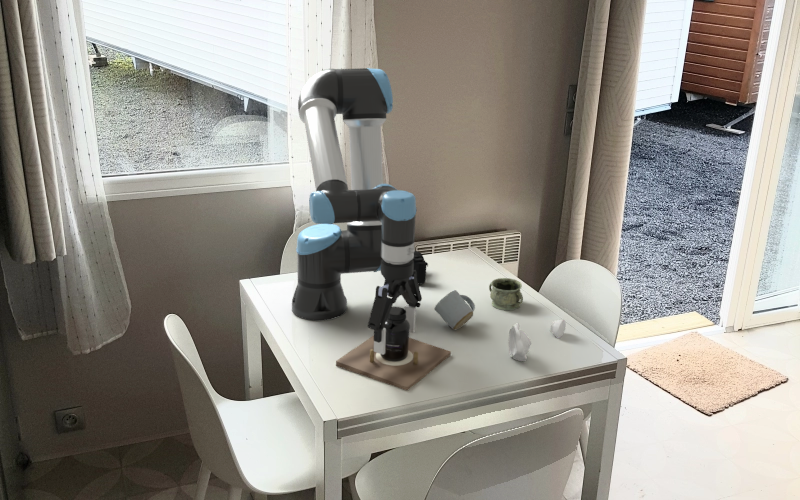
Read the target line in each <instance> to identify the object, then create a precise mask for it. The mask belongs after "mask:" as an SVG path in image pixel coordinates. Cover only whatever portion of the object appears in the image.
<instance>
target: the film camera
mask: <svg viewBox="0 0 800 500" xmlns="http://www.w3.org/2000/svg"><path fill="white" fill-rule="evenodd" d="M413 260H414V266H413V270H416V273H417V282H418V285H423V284H424V283H425V282H426V278H427V267H429V263H428V262H427V261H426V260H425V258H424V256H423V254H422V253H421V252H420V251H419V250H415V251H414V257H413Z"/></svg>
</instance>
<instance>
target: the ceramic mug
mask: <svg viewBox="0 0 800 500" xmlns="http://www.w3.org/2000/svg"><path fill="white" fill-rule="evenodd" d="M475 309H476V305H475V303H474V300H472V298H470V297H468V295H464V294H460V293H459V292H458V291H457V290H455V289H454V290H452V291H450V292H449V293H447V294H446V295H445V296H444V297H442V298H441V299H440V300H439V301H438V302H437V303H436V304H435V306H434V312H436V313H437V314H438V315H439V316H440V317H441V318H442V320H443V321H444V322H445V323H446V324H447V325H448V326H449V327H450V328H451V329H452V330H454V331H455V330H459V329H460V328H462V327H463V326H464V325H466V324H467V323H468V322H469V320H471V319H472V317H473V316H474V311H475Z"/></svg>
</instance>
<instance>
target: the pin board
mask: <svg viewBox="0 0 800 500" xmlns="http://www.w3.org/2000/svg"><path fill="white" fill-rule="evenodd" d="M451 355H452V351H451V350H448V349H445V348H443V347H442V348H441V347H439V346H436V345H432V344H429V343H427V342H424V341H420V340H418V339H414V338H411V337H409V348H408V356H407V358H406V359H404V360H402V361H398V362H392V361H387V360H385V359H383V358H382V357H381V355H380V353H377V352H374V334H373V335H371V336H370V337H369V338H368V339H366V340H364V341H363V342H361V343H360V344H358V345H357V346H356V347H354V348H353V349H351V350H349V352H347V353H346V354H344V355H343V356H342V357H340V358H339V359H337V360H335V366H336V367H339V368H341V369H345V370H347V371H349V372H353V373H355V374H359V375H362V376H364V377H367V378H370V379H373V380H376V381H378V382H382V383H385V384H388V385H390V386H392V387H395V388H398V389H401V390H405V391H409V390H410V389H411V388H412V387H414V386H415V385H417V383H419V382H420V381H422V380H423V379H424V378H425V377H426V376H427V375H428V374H430V373H431V372H433V370H435V369H436V368H438V366H439V365H441V364H442V363H444V362H445V361H446V360H447V359H448V358H449V357H451Z"/></svg>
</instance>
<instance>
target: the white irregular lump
mask: <svg viewBox="0 0 800 500" xmlns="http://www.w3.org/2000/svg"><path fill="white" fill-rule="evenodd" d="M566 323H567V322H566V319H557V320H552V321H551V324H550V330H549V331H550V333H552V334H553V336H554V337H555V338H557V339H560V338H562V337H563V335H564V334H565V332H566V327H567V326H566Z"/></svg>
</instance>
